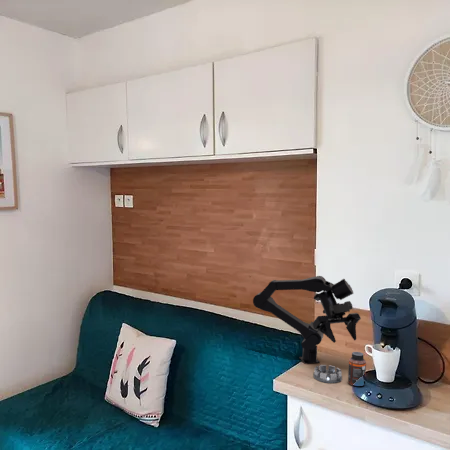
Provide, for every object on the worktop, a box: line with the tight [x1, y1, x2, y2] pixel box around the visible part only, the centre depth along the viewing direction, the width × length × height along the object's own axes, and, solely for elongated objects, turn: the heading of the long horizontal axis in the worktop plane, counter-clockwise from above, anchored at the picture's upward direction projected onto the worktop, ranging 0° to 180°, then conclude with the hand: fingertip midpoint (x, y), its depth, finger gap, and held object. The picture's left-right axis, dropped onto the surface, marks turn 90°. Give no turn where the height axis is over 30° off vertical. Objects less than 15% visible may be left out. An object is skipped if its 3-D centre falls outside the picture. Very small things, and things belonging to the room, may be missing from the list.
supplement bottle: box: [347, 351, 367, 387], centre depth 163 cm, size 6×6×11 cm
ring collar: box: [313, 364, 343, 384], centre depth 169 cm, size 10×10×3 cm
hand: (345, 340), depth 170 cm, fingers open, 9 cm apart
